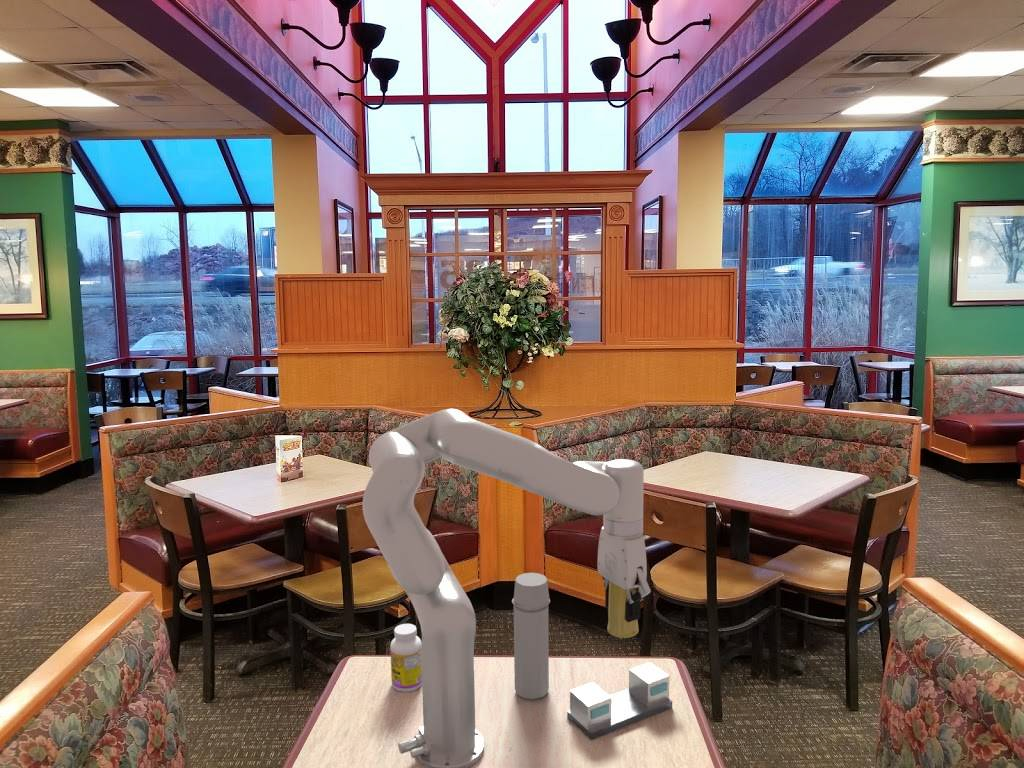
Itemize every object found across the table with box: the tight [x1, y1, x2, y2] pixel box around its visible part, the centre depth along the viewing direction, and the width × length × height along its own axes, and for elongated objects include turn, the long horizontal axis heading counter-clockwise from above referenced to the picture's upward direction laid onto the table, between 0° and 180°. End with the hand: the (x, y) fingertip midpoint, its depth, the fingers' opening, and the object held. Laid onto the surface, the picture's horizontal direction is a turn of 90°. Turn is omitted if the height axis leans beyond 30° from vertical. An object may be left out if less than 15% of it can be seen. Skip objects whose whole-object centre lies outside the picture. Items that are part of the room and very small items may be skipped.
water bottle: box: [511, 572, 551, 700], centre depth 152 cm, size 9×8×25 cm
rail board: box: [566, 661, 673, 741], centre depth 145 cm, size 20×8×6 cm, turn 119°
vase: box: [606, 581, 640, 639], centre depth 142 cm, size 6×6×14 cm
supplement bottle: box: [389, 623, 422, 693], centre depth 156 cm, size 7×7×13 cm
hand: (622, 612), depth 142 cm, fingers closed on vase, 5 cm apart
